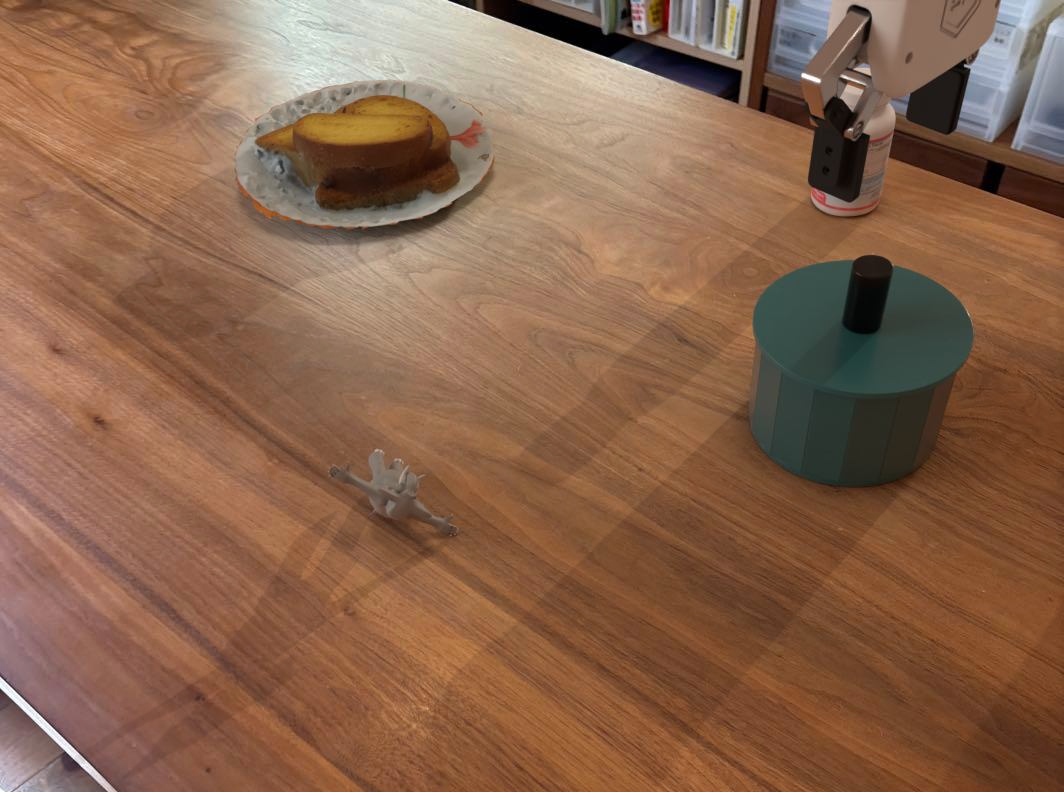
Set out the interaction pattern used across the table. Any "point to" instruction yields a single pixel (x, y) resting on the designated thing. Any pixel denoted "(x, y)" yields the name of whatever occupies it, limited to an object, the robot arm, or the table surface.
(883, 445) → the pot
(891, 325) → the lid
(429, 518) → the grey monster figurine
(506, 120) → the table surface
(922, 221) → the table surface
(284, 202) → the food on plate
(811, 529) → the table surface
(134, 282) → the table surface
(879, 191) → the pill bottle
